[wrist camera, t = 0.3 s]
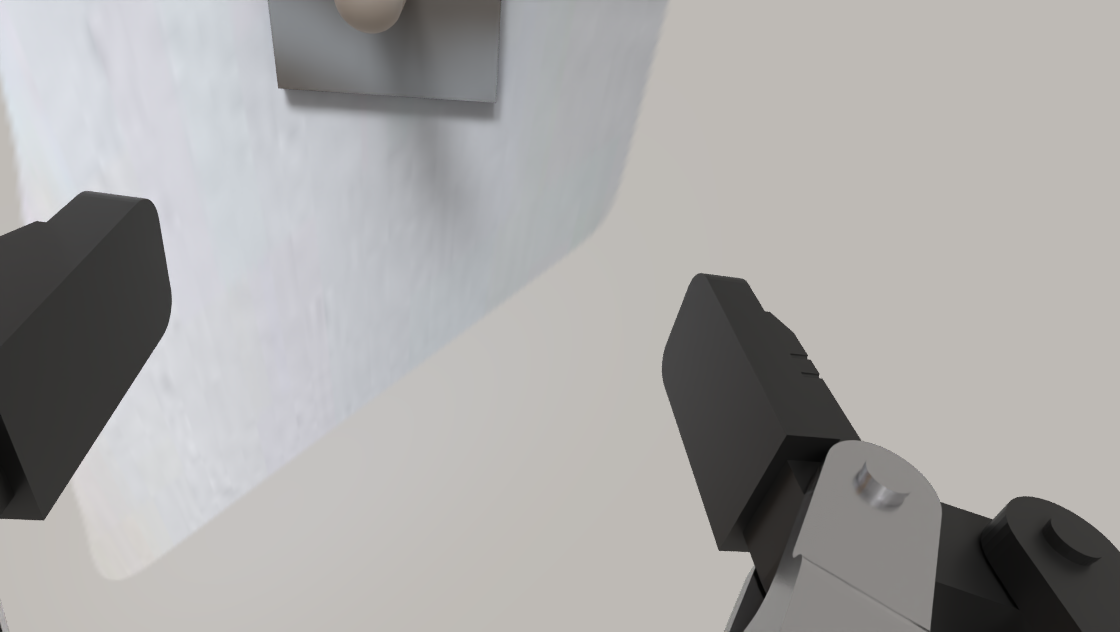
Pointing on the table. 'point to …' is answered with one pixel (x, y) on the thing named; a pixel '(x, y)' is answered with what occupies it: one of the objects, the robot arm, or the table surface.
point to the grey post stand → (388, 47)
